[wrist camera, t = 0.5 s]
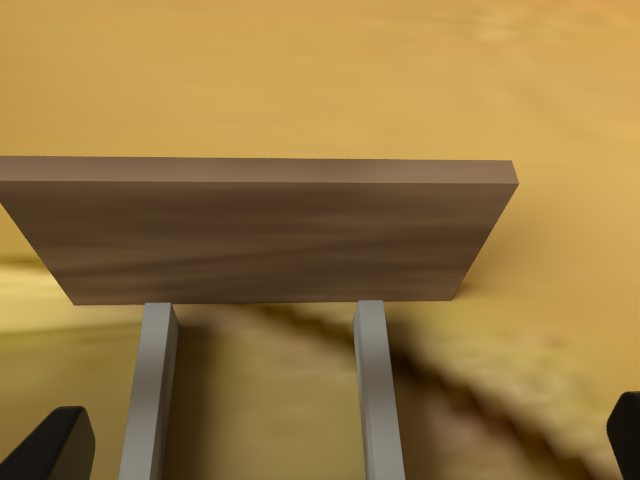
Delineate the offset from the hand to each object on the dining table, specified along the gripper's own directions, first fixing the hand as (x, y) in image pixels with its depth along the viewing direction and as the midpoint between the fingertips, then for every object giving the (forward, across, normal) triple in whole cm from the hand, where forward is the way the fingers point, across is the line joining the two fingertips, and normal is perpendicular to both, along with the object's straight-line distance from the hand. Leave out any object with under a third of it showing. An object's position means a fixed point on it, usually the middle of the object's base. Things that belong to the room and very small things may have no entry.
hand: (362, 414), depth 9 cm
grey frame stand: (+11, +2, +13) cm, 17 cm away
